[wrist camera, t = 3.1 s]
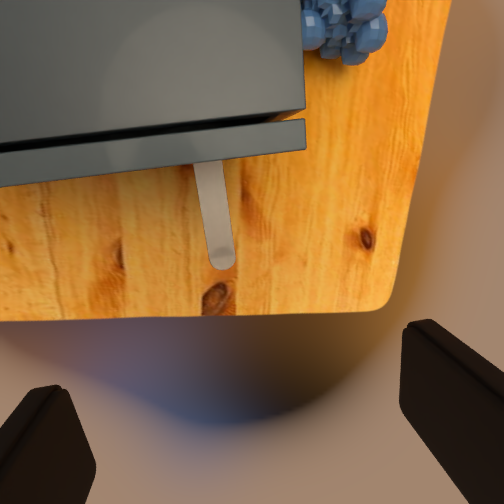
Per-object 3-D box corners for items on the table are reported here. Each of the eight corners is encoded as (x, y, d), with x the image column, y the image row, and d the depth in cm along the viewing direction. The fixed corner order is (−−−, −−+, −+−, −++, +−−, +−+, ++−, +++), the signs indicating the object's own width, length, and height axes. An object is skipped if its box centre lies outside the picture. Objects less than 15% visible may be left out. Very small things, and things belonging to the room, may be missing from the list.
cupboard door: (247, 212, 35) (316, 317, 12) (30, 243, 33) (-363, 436, 10) (239, 143, 32) (305, 118, 10) (3, 171, 30) (-588, 219, 8)
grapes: (234, 23, 29) (250, -61, 18) (278, -43, 28) (324, -177, 17) (321, 106, 32) (380, 80, 21) (362, 50, 31) (449, -9, 20)
